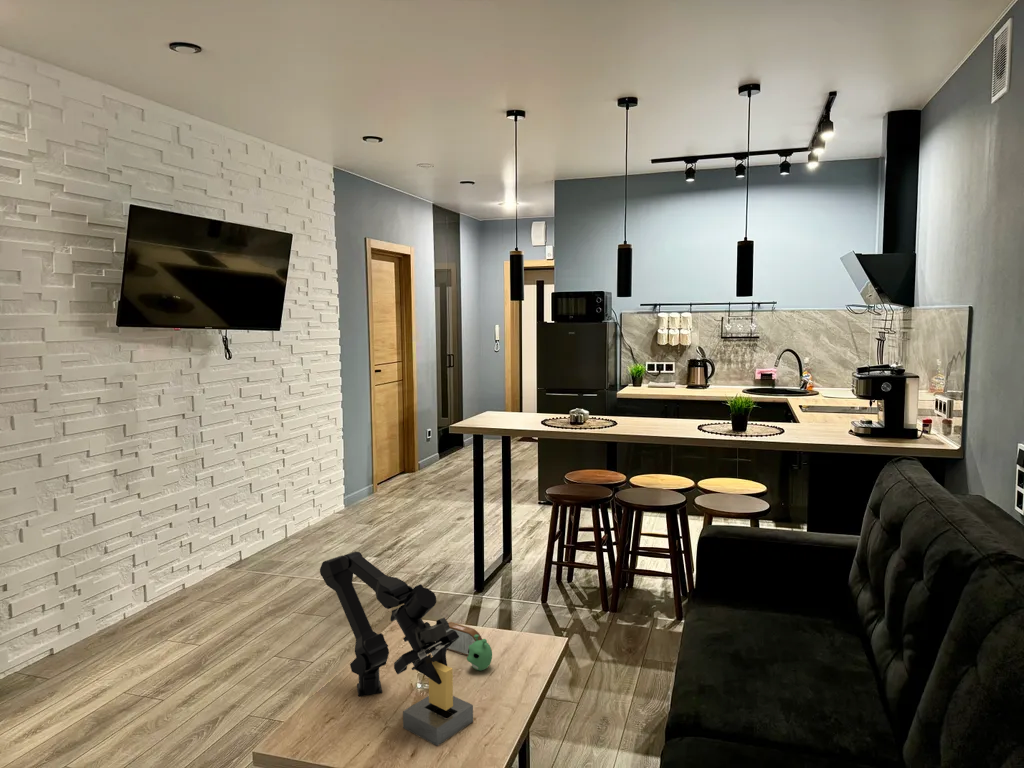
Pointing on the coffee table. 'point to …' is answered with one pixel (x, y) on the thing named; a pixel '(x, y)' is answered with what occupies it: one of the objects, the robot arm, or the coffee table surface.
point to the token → (442, 687)
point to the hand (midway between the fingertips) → (444, 681)
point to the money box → (437, 720)
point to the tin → (462, 638)
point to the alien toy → (479, 654)
